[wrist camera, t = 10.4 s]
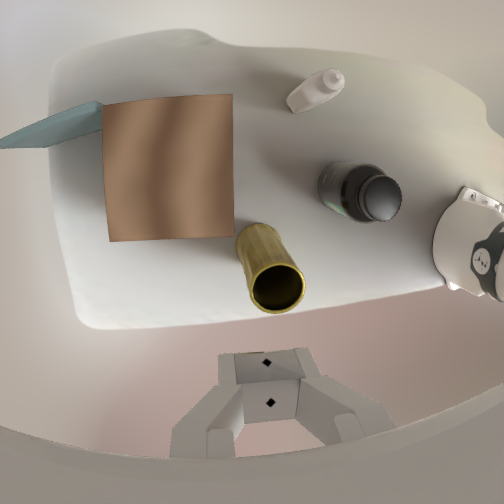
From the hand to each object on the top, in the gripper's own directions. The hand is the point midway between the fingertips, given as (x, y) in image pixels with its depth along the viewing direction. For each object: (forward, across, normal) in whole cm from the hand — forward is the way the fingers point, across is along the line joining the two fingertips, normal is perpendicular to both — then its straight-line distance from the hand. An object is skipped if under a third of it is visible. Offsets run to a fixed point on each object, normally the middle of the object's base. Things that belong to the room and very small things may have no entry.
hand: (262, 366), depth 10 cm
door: (+31, +19, -13) cm, 38 cm away
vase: (+31, -4, +5) cm, 32 cm away
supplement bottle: (+31, -15, -3) cm, 35 cm away
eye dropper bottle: (+31, -10, -15) cm, 36 cm away
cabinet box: (+31, +6, -6) cm, 32 cm away
